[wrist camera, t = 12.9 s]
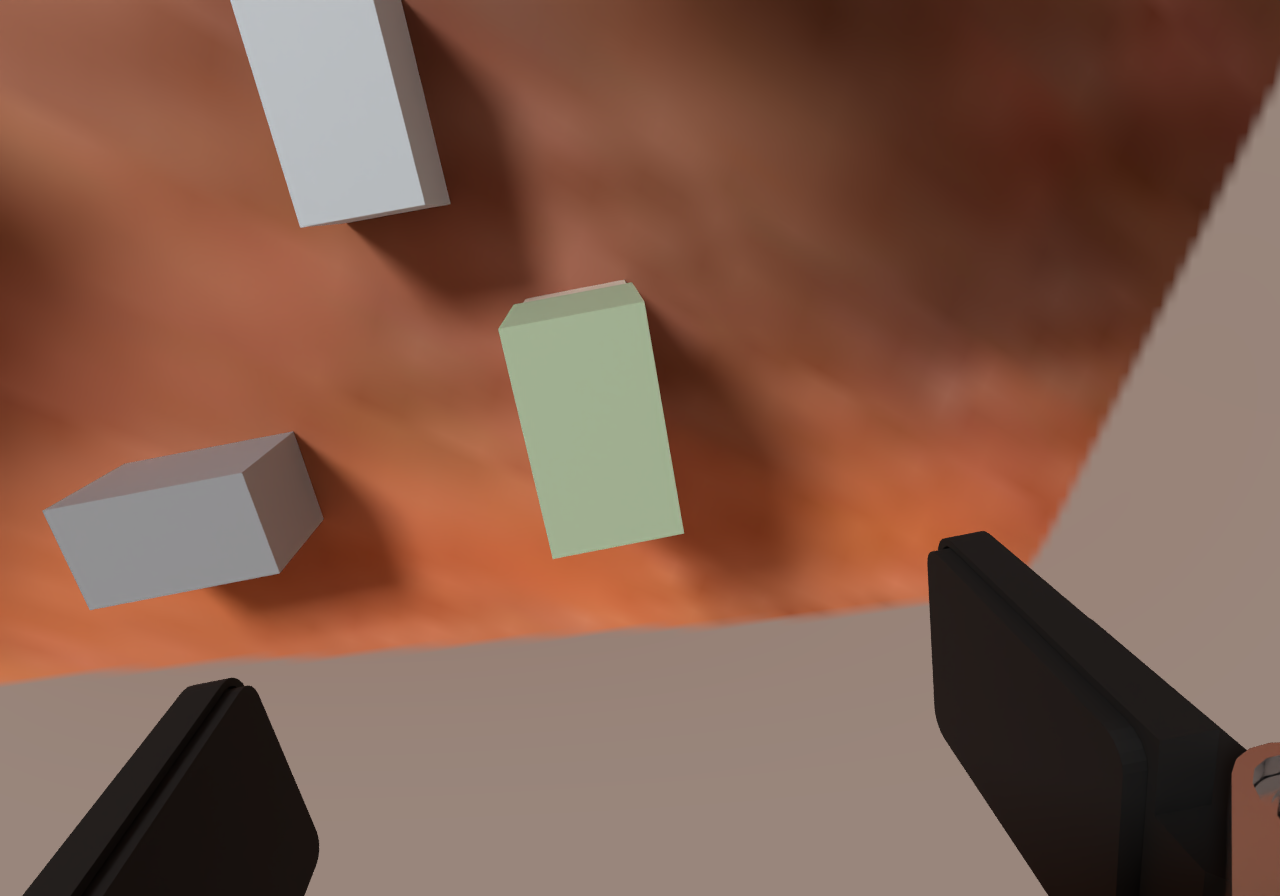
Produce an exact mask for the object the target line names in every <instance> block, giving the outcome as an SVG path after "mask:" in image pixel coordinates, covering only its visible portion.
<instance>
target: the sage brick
mask: <svg viewBox="0 0 1280 896" xmlns="http://www.w3.org/2000/svg"><path fill="white" fill-rule="evenodd" d="M498 330H499V334H500V338H501V343H502V347H503V351H504V355H505V360H506V364H507V368H508V372H509V376H510V381H511V385H512V389H513V393H514V397H515V402H516V406H517V410H518V414H519V418H520V423H521V427H522V431H523V435H524V439H525V444H526V448H527V452H528V456H529V461H530V465H531V469H532V473H533V477H534V482H535V486H536V490H537V494H538V498H539V503H540V507H541V511H542V515H543V519H544V524H545V528H546V532H547V536H548V540H549V545H550V549H551V553H552V557H553V559H555V558H560V557H565V556H570V555H576V554H581V553H586V552H591V551H596V550H601V549H607V548H612V547H617V546H622V545H627V544H632V543H638V542H643V541H648V540H653V539H658V538H663V537H669V536H674V535H679V534H684V530H683V524H682V519H681V513H680V507H679V501H678V495H677V489H676V484H675V478H674V472H673V466H672V460H671V454H670V449H669V443H668V437H667V431H666V425H665V419H664V414H663V408H662V402H661V396H660V390H659V384H658V379H657V373H656V367H655V361H654V355H653V349H652V344H651V338H650V332H649V326H648V320H647V314H646V309H645V303H644V300H643V299H642V297H641V296H640V294H639V293H638V291H637V289H636V288H635V286H634V285H633V283H632V282H631V283H626V284H621V285H615V286H610V287H605V288H599V289H594V290H589V291H583V292H578V293H573V294H567V295H562V296H557V297H551V298H546V299H541V300H535V301H530V302H525V303H519V304H514V305H513V306H512V308H511V310H510V311H509V313H508V314H507V316H506V318H505V319H504V321H503V322H502V324H501V326H500V327H499V329H498Z"/></svg>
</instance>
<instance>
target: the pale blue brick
mask: <svg viewBox="0 0 1280 896" xmlns="http://www.w3.org/2000/svg"><path fill="white" fill-rule="evenodd" d="M230 1H231V4H232V7H233V10H234V14H235V17H236V20H237V23H238V27H239V30H240V33H241V36H242V40H243V43H244V46H245V49H246V53H247V56H248V59H249V62H250V66H251V69H252V72H253V75H254V79H255V82H256V85H257V88H258V92H259V95H260V98H261V101H262V105H263V108H264V111H265V114H266V118H267V121H268V124H269V127H270V131H271V134H272V137H273V140H274V143H275V147H276V150H277V153H278V156H279V160H280V163H281V166H282V169H283V173H284V176H285V179H286V182H287V186H288V189H289V192H290V195H291V199H292V202H293V205H294V208H295V212H296V215H297V218H298V221H299V225H300V227H310V226H321V225H332V224H343V223H350V222H355V221H361V220H366V219H372V218H377V217H383V216H388V215H394V214H399V213H405V212H410V211H416V210H421V209H427V208H432V207H438V206H443V205H449V204H451V203H450V199H449V195H448V191H447V187H446V183H445V179H444V175H443V170H442V166H441V162H440V158H439V154H438V150H437V146H436V142H435V138H434V133H433V129H432V125H431V121H430V117H429V113H428V109H427V105H426V101H425V96H424V92H423V88H422V84H421V80H420V76H419V72H418V68H417V64H416V59H415V55H414V51H413V47H412V43H411V39H410V35H409V31H408V27H407V22H406V18H405V14H404V10H403V6H402V2H401V0H230Z"/></svg>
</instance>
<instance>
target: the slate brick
mask: <svg viewBox="0 0 1280 896" xmlns="http://www.w3.org/2000/svg"><path fill="white" fill-rule="evenodd" d="M43 513H44V515H45V517H46V520H47V522H48V524H49V526H50V528H51V530H52V532H53V534H54V536H55V538H56V540H57V543H58V545H59V547H60V549H61V551H62V553H63V555H64V557H65V559H66V561H67V563H68V566H69V568H70V570H71V572H72V574H73V576H74V578H75V580H76V582H77V584H78V586H79V588H80V591H81V593H82V595H83V597H84V599H85V601H86V603H87V605H88V607H89V609H90V610H93V609H98V608H103V607H108V606H114V605H119V604H124V603H129V602H134V601H140V600H145V599H150V598H155V597H160V596H165V595H171V594H176V593H181V592H186V591H191V590H196V589H202V588H207V587H212V586H217V585H222V584H227V583H233V582H238V581H243V580H248V579H253V578H259V577H264V576H269V575H274V574H279V573H281V571H282V570H283V569H284V568H285V566H286V565H287V564H288V563H289V561H290V560H291V559H292V558H293V557H294V555H295V554H296V553H297V552H298V550H299V549H300V548H301V547H302V545H303V544H304V543H305V542H306V540H307V539H308V538H309V537H310V536H311V534H312V533H313V532H314V531H315V529H316V528H317V527H318V526H319V524H320V523H321V522H322V521H323V520H324V518H323V515H322V513H321V510H320V507H319V504H318V501H317V498H316V495H315V492H314V489H313V487H312V484H311V481H310V478H309V475H308V472H307V469H306V466H305V463H304V461H303V458H302V455H301V452H300V449H299V446H298V443H297V440H296V437H295V434H294V432H288V433H283V434H277V435H272V436H267V437H262V438H257V439H251V440H246V441H241V442H236V443H230V444H225V445H220V446H215V447H210V448H204V449H199V450H194V451H189V452H183V453H178V454H173V455H168V456H162V457H157V458H152V459H147V460H142V461H136V462H131V463H126V464H123V465H121V466H120V467H118V468H116V469H114V470H113V471H111V472H109V473H107V474H106V475H104V476H102V477H100V478H99V479H97V480H95V481H93V482H92V483H90V484H88V485H86V486H85V487H83V488H81V489H79V490H78V491H76V492H74V493H73V494H71V495H69V496H67V497H66V498H64V499H62V500H60V501H59V502H57V503H55V504H53V505H52V506H50V507H48V508H46V509H45V510H43Z"/></svg>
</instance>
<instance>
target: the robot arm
mask: <svg viewBox="0 0 1280 896" xmlns="http://www.w3.org/2000/svg"><path fill="white" fill-rule="evenodd" d="M928 584H929V604H930V624H931V645H932V664H933V684H934V705H935V714H936V719H937V722H938V725H939V728H940V731H941V733H942V735H943V737H944V738H945V740H946V742H947V743H948V745H949V746H950V748H951V749H952V751H953V752H954V754H955V755H956V757H957V758H958V760H959V761H960V762H961V764H962V766H963V767H964V769H965V770H966V772H967V773H968V774H969V776H970V778H971V779H972V780H973V782H974V784H975V785H976V787H977V788H978V790H979V791H980V793H981V794H982V796H983V797H984V799H985V800H986V802H987V803H988V805H989V806H990V808H991V810H992V811H993V813H994V814H995V816H996V817H997V819H998V820H999V822H1000V823H1001V824H1002V826H1003V828H1004V829H1005V831H1006V832H1007V834H1008V835H1009V837H1010V838H1011V840H1012V841H1013V843H1014V844H1015V845H1016V847H1017V849H1018V850H1019V852H1020V853H1021V855H1022V856H1023V858H1024V859H1025V861H1026V862H1027V864H1028V865H1029V867H1030V868H1031V870H1032V871H1033V873H1034V874H1035V876H1036V877H1037V879H1038V880H1039V882H1040V883H1041V885H1042V887H1043V888H1044V890H1045V891H1046V893H1047V894H1048V896H1280V743H1267V744H1264V745H1260V746H1257V747H1253V748H1250V749H1248V750H1246V749H1245V748H1244V747H1242V746H1241V745H1240V744H1238V742H1236V741H1235V740H1234V739H1233V738H1232V737H1230V736H1229V735H1228V734H1227V733H1226V732H1225V731H1223V730H1222V729H1221V728H1220V727H1219V726H1217V725H1216V724H1215V723H1214V722H1213V721H1212V720H1210V719H1209V718H1208V717H1207V716H1206V715H1204V714H1203V713H1202V712H1201V711H1200V710H1198V709H1197V708H1196V707H1195V706H1194V705H1193V704H1191V703H1190V702H1189V701H1188V700H1187V699H1185V698H1184V697H1183V696H1182V695H1181V694H1179V693H1178V692H1177V691H1176V690H1175V689H1174V688H1172V687H1171V686H1170V685H1169V684H1168V683H1166V682H1165V681H1164V680H1163V679H1162V678H1161V677H1159V676H1158V675H1157V674H1156V673H1155V672H1154V671H1152V670H1151V669H1150V668H1149V667H1148V666H1146V665H1145V664H1144V663H1143V662H1141V661H1140V660H1139V659H1138V658H1137V657H1136V656H1135V655H1133V654H1132V653H1131V652H1129V650H1127V649H1126V648H1125V647H1124V646H1123V645H1122V644H1120V643H1119V642H1118V641H1117V640H1115V639H1114V638H1113V637H1112V636H1111V635H1110V634H1108V633H1107V632H1106V631H1105V630H1104V629H1103V628H1101V627H1100V626H1099V625H1098V624H1097V623H1095V622H1094V621H1093V620H1091V619H1090V618H1088V617H1087V616H1086V615H1085V614H1083V613H1082V612H1081V611H1080V610H1079V609H1077V608H1076V607H1075V606H1074V605H1073V604H1072V603H1071V602H1069V601H1068V600H1067V599H1066V598H1064V597H1063V596H1062V595H1061V594H1060V593H1059V592H1057V591H1056V590H1055V589H1054V588H1053V587H1052V586H1050V585H1049V584H1048V583H1047V582H1046V581H1045V580H1043V579H1042V578H1041V577H1040V576H1039V575H1037V574H1036V573H1035V572H1034V571H1033V570H1032V569H1030V568H1029V567H1028V566H1027V565H1026V564H1024V563H1023V562H1022V561H1021V560H1020V559H1019V558H1017V557H1016V556H1015V555H1014V554H1013V553H1011V552H1010V551H1009V550H1008V549H1007V548H1006V547H1004V546H1003V545H1002V544H1001V543H1000V542H998V541H997V540H996V539H995V538H994V537H993V536H991V535H990V534H989V533H987V532H985V531H980V532H975V533H970V534H965V535H960V536H954V537H949V538H944V539H942V540H941V541H940V543H939V547H938V551H933V552H930V553H929V555H928ZM318 855H319V840H318V835H317V831H316V829H315V827H314V824H313V822H312V819H311V817H310V815H309V812H308V810H307V808H306V805H305V803H304V801H303V798H302V796H301V794H300V791H299V789H298V786H297V784H296V782H295V779H294V777H293V775H292V773H291V770H290V768H289V765H288V763H287V761H286V758H285V756H284V753H283V751H282V749H281V747H280V744H279V742H278V739H277V737H276V735H275V732H274V730H273V728H272V725H271V723H270V721H269V718H268V716H267V713H266V711H265V709H264V706H263V704H262V702H261V699H260V697H259V695H258V693H257V691H256V690H255V689H254V688H253V687H252V686H244V685H243V683H242V682H241V681H240V680H238V679H236V678H228V679H223V680H218V681H213V682H208V683H202V684H197V685H193V686H190V687H187V688H186V689H185V690H184V691H183V692H182V693H181V694H180V695H179V697H178V698H177V699H176V701H175V702H174V703H173V705H172V706H171V707H170V708H169V710H168V711H167V712H166V713H165V715H164V716H163V717H162V718H161V720H160V721H159V722H158V724H157V725H156V726H155V727H154V729H153V730H152V731H151V733H150V734H149V735H148V736H147V738H146V739H145V740H144V741H143V743H142V744H141V745H140V747H139V748H138V749H137V750H136V752H135V753H134V754H133V756H132V757H131V758H130V759H129V760H128V762H127V763H126V764H125V766H124V767H123V768H122V769H121V771H120V772H119V773H118V774H117V776H116V777H115V778H114V780H113V781H112V782H111V783H110V785H109V786H108V787H107V788H106V790H105V791H104V792H103V794H102V795H101V796H100V797H99V799H98V800H97V801H96V803H95V804H94V805H93V806H92V808H91V809H90V810H89V811H88V813H87V814H86V815H85V817H84V818H83V819H82V820H81V822H80V823H79V824H78V825H77V827H76V828H75V829H74V831H73V832H72V833H71V834H70V836H69V837H68V838H67V839H66V841H65V842H64V843H63V845H62V846H61V847H60V848H59V850H58V851H57V852H56V854H55V855H54V856H53V858H52V859H51V860H50V861H49V863H48V864H47V865H46V866H45V868H44V869H43V870H42V871H41V873H40V874H39V875H38V877H37V878H36V879H35V880H34V882H33V883H32V884H31V885H30V887H29V888H28V889H27V890H26V892H25V893H24V894H23V896H304V895H305V893H306V890H307V887H308V885H309V882H310V879H311V877H312V874H313V872H314V869H315V867H316V864H317V860H318Z"/></svg>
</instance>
